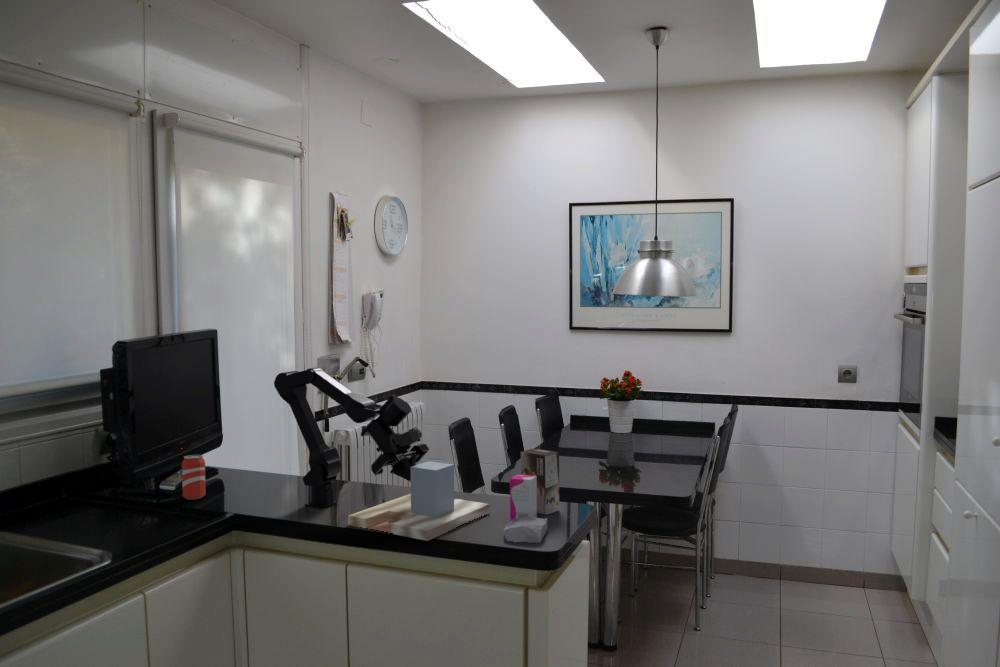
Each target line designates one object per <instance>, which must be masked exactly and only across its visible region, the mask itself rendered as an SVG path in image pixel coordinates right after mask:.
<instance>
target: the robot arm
mask: <svg viewBox="0 0 1000 667" xmlns="http://www.w3.org/2000/svg"><path fill="white" fill-rule="evenodd" d="M309 384H311V385H312V386H313V387H315V388H316V389H318V390H319V391H321V392H322V393H323V394H324V395H326V396H327V397H328V398H330V399H332V400H333V401H334V402H336V403H337V404H338V405H340V407H341V408H342V409H343V411H344V413H345V415H347V416H348V418H349V419H351V421H352V422H354V423H355V424H362V423H365V422H368V423H367V425H362V426H361V432H360V436H361V437H366V436H370V437H371V439H372V440H373V441H374V443H375V444H376V446H377V447H376V449H375V450H376V452H378V453H381V454H379V455H378V456H377V458H376V459H375V460H374V461H373V462H372V463H371V465H370V470H371V472H372V474H373V475H374V476H375V477H376V476H379V475H382V474H383V472H384V469H383V468H384V467H388V466H390V467H391V470H390V471H389V473H390V474H394V475H396V476H397V477H398V476H399V477H401V478H403V479H405V480H407V482H410V483H411V467H412V466H415V465H417V464H418V463H419V462H420V461H421V460H422V459H423V458H424V457H425V455H427V453H428V452H429V451H430V448H429V446H428V445H427V444H426V443H419V444H415V445H413V444H414V443H417V442H421V440H422V439H421V438H422V436H423V435H422V434H423V433H422V431H421V430H420V429H419V427H417V426H414V427H411V428H409V429H408V431H405V432H403V433H401V432H397V433H396V432H395V431H394V429H393V427H394V428H395V427H398V426H399V425H400V424H401V423H402V422H403V421H404V420H405V419H406V418H407V416H409V414H411V412H412V407H411V406H410V404H409V403H408V402H407V401H405V400H404V399H402V398H401V397H398V396H397V394H393V395H392V394H391V395H390V396H389V397H387V398H388V399H387V400H386V401H385V402H384V404H377V402H376V401H374V400H373V399H371V398H369V397H367V396H365V395H361V394H357V393H355V392H353V391H351V390H350V389H348V388H347V387H346V386H344V385H343V384H341V383H340V382H339V381H338V380H335V379H334V378H333V377H332V376H330V375H329V374H327V372H325V371H324V370H323V368H320V367H310V368H307V369H305V370H301V371H298V370H292V371H286V372H285V371H284V372H280V373H278V374H277V375H276V376H275V379H274V380H273V385H274V389H275V390H276V392H277V393H278V395H279V396H280V398H281V399H282V400H284V402H286V403H287V404H288V405H289V407H290V409H291V412H292V414H293V416H294V419H295V421H296V424H297V425H298V427H299V428H298V429H299V430H300V433H301V435H302V437H303V440H304V442H305V444H306V446H307V449H308V452H309V453H308V465H309V470H308V472H307V473H306V474H305V475H304V476H303V477H302V481H303V485H305V486H308V488H307V490H308V493H307V494H308V502H305V503H304V506H306V507H311V506H312V508H316V507H317V508H318V509H324V508H326V507H330V506H332V505H336V504H337V503H338V502H337V501H336V500H334V495H335V494H334V493H335V492H334V487H333V484H334V483H333V482H335V481H336V480H337V478H338V475H339V473H340V472H341V469H342V462H341V461H343V460H342V458H341V456H340V455H339V451H338V448H336V446H335V447H332V448H331V447H330V446H328V445H327V443H326V441H325V438H324V436H323V434H322V432H321V431H322V430H320V427H319V424H318V422H317V420H316V417H315V416H314V413H313V411H312V408H311V406H310V404H309V401H308V398H307V392H308V386H307V385H309ZM412 445H413V446H412ZM408 450H409V451H408Z"/></svg>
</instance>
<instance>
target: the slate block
mask: <svg viewBox="0 0 1000 667" xmlns="http://www.w3.org/2000/svg"><path fill="white" fill-rule="evenodd" d="M410 494H411V513H414V514H420V515H425V516H431V517H439V516H441V515H444V514H446V513H448V512H451V511H453V510H454V499H455V464H453V463H452V464H451V463H446V462H445V463H444V462H437V461H430V460H429V461H426V462H422V463H419V464H418V463H417V464H416V465H415V466H412V467H411V482H410Z"/></svg>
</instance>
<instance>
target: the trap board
mask: <svg viewBox="0 0 1000 667" xmlns="http://www.w3.org/2000/svg"><path fill="white" fill-rule="evenodd" d="M490 505H491V504H490V503H485V502H479V501H472V500H466V499H461V498H454V510H453V511H451V512H448V513H446V514H444V515H441V516H439V517H431V516H425V515H420V514H414V513H411V493H408V494H405V495H402V496H400V497H398V498H395V499H391V500H388V501H386V502H382V503H380V504H377V505H374V506H372V507H371V506H370V507H369V508H366V509H363V510H361V511H357V512H354V513H351V514H349V515H347V520H348V521H347V523H348V524H347V525H348V526H350V525H351V526H350V527H356V528H360V527H362V528H361V529H365V528H368V529H367V530H370V529H374V530H373V531H375V530H380V531H384V532H383V533H385V532H388V533H387V534H390V533H393V534H392V535H396V536H401V537H406V538H411V539H416V540H421V541H425V542H426V541H427V542H428V541H431V540H433V539H435V538H437V537H439V536H442V535H444V534H446V533H448V531H449V532H450V530H451V531H453V530H455V529H457V528H456V527H458V526H460V525H462V524H464V523H467V522H469V521H471V522H473V521H475V520H474V519H476V518H478V519H479V517H480V518H482V517H484V515H485V516H486V514H487V515H489V514H490V513H491V512H490V511H491V510H490V508H491V507H490ZM481 516H482V517H481ZM387 519H392V520H393V521H394V522H393V521H391V523H388V522H390V521H388V522H387V521H386V520H387ZM395 520H398V521H397V522H396V521H395ZM472 520H473V521H472ZM476 520H477V519H476ZM382 521H383V522H382ZM384 521H385V522H384ZM469 523H470V522H469ZM467 524H468V523H467ZM464 525H465V524H464ZM462 526H463V525H462ZM460 527H461V526H460ZM454 528H455V529H454ZM458 528H459V527H458ZM452 529H453V530H452ZM380 531H379V532H380Z"/></svg>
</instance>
